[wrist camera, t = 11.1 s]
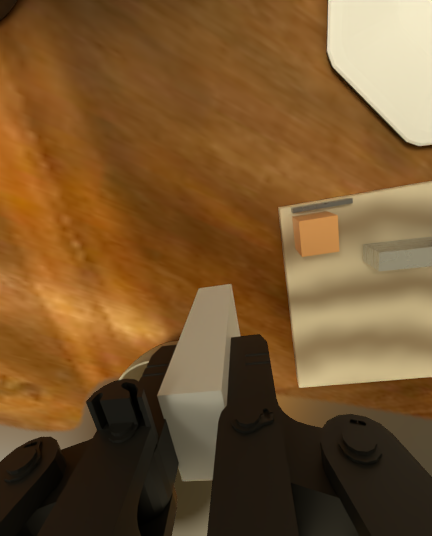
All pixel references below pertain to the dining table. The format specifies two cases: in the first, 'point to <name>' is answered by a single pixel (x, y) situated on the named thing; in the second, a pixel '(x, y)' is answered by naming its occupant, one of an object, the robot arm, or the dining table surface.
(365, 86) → the plate
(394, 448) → the robot arm
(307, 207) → the tongs base
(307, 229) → the orange cube
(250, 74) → the dining table surface
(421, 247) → the bar
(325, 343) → the board
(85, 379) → the dining table surface
